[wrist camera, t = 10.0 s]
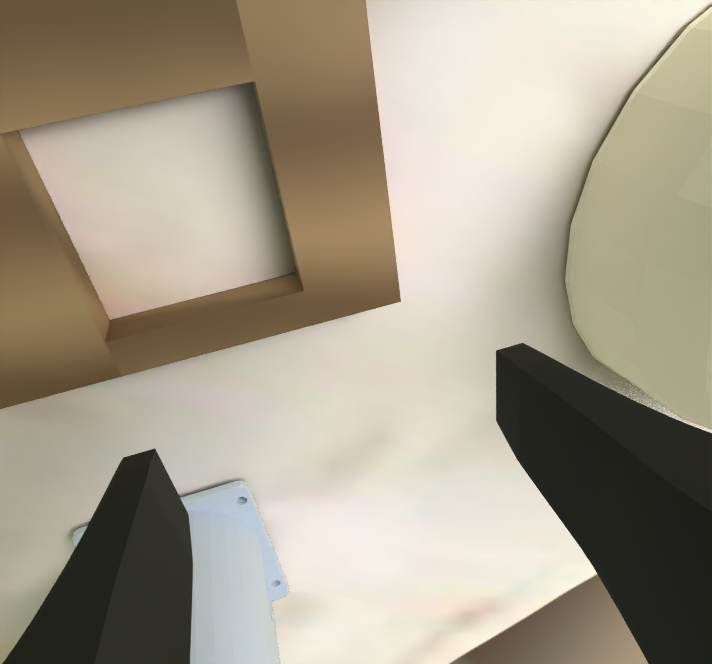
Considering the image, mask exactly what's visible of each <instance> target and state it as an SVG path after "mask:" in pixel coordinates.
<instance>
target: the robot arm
mask: <svg viewBox="0 0 712 664" xmlns="http://www.w3.org/2000/svg"><path fill="white" fill-rule="evenodd" d="M496 421H497V423H498V425H499V427H500V429H501V430H502V432H503V434H504V436H505V438H506V440H507V442H508V444H509V445H510V447H511V449H512V451H513V453H514V454H515V456H516V458H517V460H518V461H519V463H520V464H521V466H522V467H523V468H524V470H525V471H526V473H527V474H528V475H529V477H530V478H531V480H532V481H533V482H534V484H535V485H536V487H537V488H538V489H539V491H540V492H541V494H542V495H543V496H544V498H545V499H546V500H547V502H548V503H549V505H550V506H551V507H552V509H553V510H554V511H555V513H556V514H557V516H558V517H559V518H560V520H561V521H562V522H563V524H564V525H565V527H566V528H567V529H568V531H569V532H570V533H571V535H572V536H573V538H574V539H575V540H576V542H577V543H578V544H579V546H580V547H581V549H582V550H583V552H584V553H585V555H586V556H587V558H588V559H589V561H590V562H591V564H592V565H593V567H594V569H595V570H596V572H597V574H598V575H599V577H600V578H601V581H602V582H603V584H604V586H605V587H606V589H607V590H608V592H609V594H610V596H611V598H612V599H613V601H614V603H615V604H616V606H617V608H618V609H619V611H620V613H621V614H622V617H623V618H624V620H625V622H626V624H627V625H628V627H629V629H630V631H631V633H632V634H633V636H634V638H635V640H636V642H637V643H638V645H639V646H640V649H641V651H642V652H643V654H644V656H645V658H646V660H647V661H648V663H649V664H712V433H709V432H706V431H704V430H701V429H699V428H696V427H693V426H691V425H688V424H686V423H683V422H681V421H678V420H676V419H674V418H671V417H669V416H667V415H664V414H662V413H660V412H658V411H655V410H653V409H651V408H649V407H647V406H644V405H642V404H640V403H638V402H636V401H633V400H631V399H629V398H627V397H625V396H623V395H621V394H619V393H617V392H615V391H613V390H611V389H609V388H607V387H605V386H603V385H601V384H599V383H597V382H595V381H593V380H591V379H590V378H588V377H586V376H584V375H582V374H580V373H578V372H576V371H574V370H573V369H571V368H569V367H567V366H565V365H563V364H561V363H560V362H558V361H556V360H554V359H552V358H550V357H549V356H547V355H545V354H543V353H541V352H539V351H537V350H535V349H534V348H532V347H530V346H528V345H526V344H524V343H521V344H518V345H514V346H511V347H507V348H504V349H500V350H497V351H496ZM239 497H243V498H239ZM72 542H73V544H74V546H75V547H76V548H75V550H74V552H73V553H72V555H71V557H70V559H69V561H68V562H67V564H66V566H65V568H64V569H63V571H62V573H61V574H60V576H59V578H58V579H57V581H56V582H55V584H54V586H53V587H52V589H51V591H50V592H49V594H48V596H47V597H46V599H45V601H44V602H43V604H42V605H41V607H40V609H39V610H38V612H37V614H36V615H35V617H34V618H33V620H32V621H31V623H30V624H29V626H28V627H27V629H26V630H25V632H24V633H23V635H22V636H21V638H20V639H19V641H18V642H17V644H16V645H15V647H14V648H13V650H12V651H11V652H10V654H9V655H8V657H7V658H6V660H5V661H4V662H3V664H280V656H279V649H278V642H277V635H276V627H275V620H274V613H273V606H272V601H274V600H277V599H280V598H283V597H285V596H286V595H287V594H288V592H289V589H288V584H287V581H286V579H285V576H284V574H283V571H282V569H281V566H280V564H279V561H278V559H277V556H276V553H275V551H274V548H273V546H272V543H271V541H270V538H269V536H268V533H267V530H266V528H265V525H264V523H263V520H262V518H261V515H260V513H259V510H258V507H257V505H256V502H255V500H254V497H253V495H252V492H251V490H250V487H249V485H248V483H247V482H245V481H234V482H231V483H228V484H224V485H221V486H218V487H214V488H211V489H208V490H204V491H201V492H198V493H194V494H191V495H188V496H184V497H181V498H180V497H179V495H178V493H177V491H176V489H175V487H174V485H173V483H172V481H171V479H170V477H169V475H168V473H167V471H166V469H165V467H164V465H163V463H162V461H161V459H160V458H159V456H158V454H157V452H156V450H155V449H152V450H148V451H145V452H141V453H138V454H135V455H131V456H128V457H124V458H123V459H122V461H121V462H120V464H119V466H118V468H117V470H116V472H115V474H114V476H113V478H112V480H111V482H110V484H109V486H108V488H107V490H106V492H105V494H104V495H103V497H102V499H101V501H100V503H99V505H98V507H97V509H96V511H95V513H94V515H93V517H92V519H91V521H90V522H89V524H88V526H85V527H81V528H79V529H77V530H76V531H75V532H74V534H73V538H72Z"/></svg>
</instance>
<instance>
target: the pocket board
mask: <svg viewBox="0 0 712 664" xmlns="http://www.w3.org/2000/svg"><path fill="white" fill-rule="evenodd" d="M249 82H252V85H253V89H254V93H255V97H256V101H257V106H258V110H259V114H260V118H261V123H262V127H263V131H264V135H265V140H266V144H267V148H268V152H269V156H270V161H271V165H272V169H273V173H274V178H275V182H276V186H277V190H278V194H279V199H280V203H281V207H282V211H283V216H284V220H285V224H286V228H287V233H288V237H289V241H290V245H291V249H292V254H293V258H294V262H295V266H296V271H297V273H294V274H290V275H286V276H282V277H278V278H274V279H270V280H266V281H262V282H259V283H255V284H251V285H247V286H243V287H239V288H235V289H231V290H227V291H223V292H219V293H215V294H211V295H207V296H204V297H200V298H196V299H192V300H188V301H184V302H180V303H176V304H172V305H168V306H164V307H160V308H156V309H153V310H149V311H145V312H141V313H137V314H133V315H129V316H125V317H121V318H117V319H113V320H109V317H108V315H107V313H106V311H105V309H104V307H103V305H102V303H101V301H100V299H99V297H98V295H97V293H96V291H95V289H94V287H93V284H92V282H91V280H90V278H89V276H88V274H87V272H86V270H85V268H84V266H83V264H82V262H81V260H80V258H79V256H78V254H77V252H76V249H75V247H74V245H73V243H72V241H71V239H70V237H69V235H68V233H67V231H66V229H65V227H64V225H63V223H62V221H61V219H60V216H59V214H58V212H57V210H56V208H55V206H54V204H53V202H52V200H51V198H50V196H49V194H48V192H47V190H46V188H45V186H44V183H43V181H42V179H41V177H40V175H39V173H38V171H37V169H36V167H35V165H34V163H33V161H32V159H31V157H30V155H29V153H28V150H27V148H26V146H25V144H24V142H23V140H22V138H21V136H20V134H19V132H18V130H21V129H26V128H31V127H35V126H40V125H45V124H50V123H55V122H60V121H64V120H69V119H74V118H79V117H84V116H89V115H94V114H98V113H103V112H108V111H113V110H118V109H123V108H127V107H132V106H137V105H142V104H147V103H152V102H157V101H161V100H166V99H171V98H176V97H181V96H186V95H190V94H195V93H200V92H205V91H210V90H215V89H220V88H224V87H229V86H234V85H239V84H244V83H249ZM397 302H401V299H400V290H399V282H398V274H397V265H396V257H395V248H394V240H393V231H392V223H391V214H390V206H389V197H388V189H387V180H386V172H385V163H384V155H383V146H382V138H381V129H380V121H379V112H378V104H377V95H376V87H375V78H374V70H373V61H372V53H371V44H370V36H369V27H368V19H367V11H366V2H365V0H0V409H2V408H6V407H9V406H13V405H17V404H21V403H24V402H28V401H32V400H35V399H39V398H43V397H47V396H50V395H54V394H58V393H62V392H65V391H69V390H73V389H76V388H80V387H84V386H88V385H91V384H95V383H99V382H103V381H106V380H110V379H114V378H117V377H121V376H125V375H129V374H132V373H136V372H140V371H144V370H147V369H151V368H155V367H158V366H162V365H166V364H170V363H173V362H177V361H181V360H185V359H188V358H192V357H196V356H199V355H203V354H207V353H211V352H214V351H218V350H222V349H226V348H229V347H233V346H237V345H240V344H244V343H248V342H252V341H255V340H259V339H263V338H267V337H270V336H274V335H278V334H281V333H285V332H289V331H293V330H296V329H300V328H304V327H308V326H311V325H315V324H319V323H322V322H326V321H330V320H334V319H337V318H341V317H345V316H349V315H352V314H356V313H360V312H363V311H367V310H371V309H375V308H378V307H382V306H386V305H390V304H393V303H397Z"/></svg>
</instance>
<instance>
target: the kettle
mask: <svg viewBox="0 0 712 664" xmlns="http://www.w3.org/2000/svg"><path fill="white" fill-rule="evenodd" d="M565 283H566V289H567V294H568V300H569V305H570V310H571V316H572V321H573V325H574V327H575V329H576V330H577V332H578V334H579V335H580V337H581V338H582V340H583V342H584V343H585V345H586V347H587V348H588V350H589V351H590V353H591V355H592V356H593V357H594V358H595V359H597V360H598V361H599V362H601V363H602V364H604V365H605V366H607V367H608V368H609V369H611V370H612V371H614V372H615V373H617V374H618V375H619V376H621V377H625V378H626V379H628V380H629V381H630V382H632V383H633V384H634V385H636V386H637V387H638V388H640V389H641V390H643V391H644V392H645V393H647V394H648V395H649V396H651V397H652V398H654V399H655V400H656V401H658V402H659V403H661V404H662V405H663V406H665V407H666V408H668V409H669V410H671V411H672V412H673V413H675V414H676V415H678V416H679V417H680V418H682V419H683V420H686V421H689V422H692V423H695V424H698V425H701V426H704V427H706V428H709V429H712V6H711V7H710V8H709V9H708V10H707V11H705V12H704V13H703V14H702V15H700V16H699V17H698V18H697V19H696V20H694V21H693V22H692V23H691V24H689V25H688V27H687V28H686V29H685V30H684V31H683V32H682V34H681V35H680V36H679V37H678V38H677V40H676V41H675V42H674V43H673V44H672V45H671V47H670V48H669V49H668V50H667V51H666V53H665V54H664V55H663V56H662V57H661V58H660V60H659V61H658V62H657V63H656V64H655V66H654V67H653V68H652V69H651V70H650V72H649V73H648V74H647V75H646V76H645V77H644V79H643V80H642V81H641V82H640V83H639V85H638V86H637V87H636V88H635V89H634V90H633V92H632V94H631V96H630V97H629V99H628V101H627V102H626V104H625V106H624V108H623V109H622V111H621V113H620V115H619V116H618V118H617V120H616V121H615V123H614V125H613V127H612V128H611V130H610V132H609V134H608V135H607V137H606V139H605V141H604V142H603V144H602V146H601V147H600V149H599V151H598V153H597V154H596V156H595V158H594V160H593V162H592V165H591V168H590V171H589V174H588V177H587V180H586V183H585V185H584V188H583V191H582V194H581V197H580V200H579V203H578V206H577V209H576V211H575V214H574V217H573V220H572V223H571V228H570V238H569V247H568V257H567V266H566V276H565Z"/></svg>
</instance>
